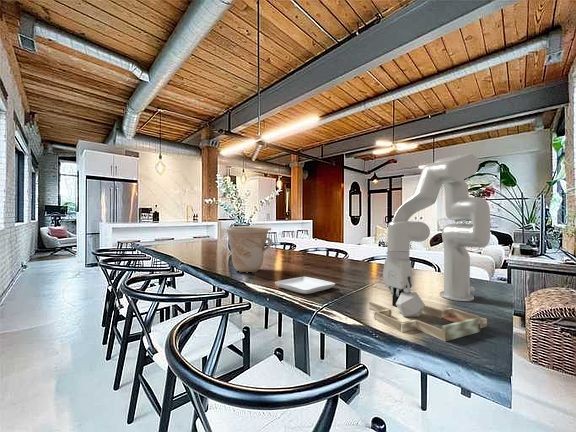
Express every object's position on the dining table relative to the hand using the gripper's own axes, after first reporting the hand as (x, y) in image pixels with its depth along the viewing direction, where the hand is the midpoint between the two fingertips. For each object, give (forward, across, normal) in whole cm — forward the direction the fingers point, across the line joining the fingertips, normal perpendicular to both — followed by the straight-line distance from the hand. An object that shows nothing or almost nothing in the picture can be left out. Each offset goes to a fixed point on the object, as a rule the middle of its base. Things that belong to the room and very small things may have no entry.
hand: (397, 306), depth 103 cm
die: (+2, +5, +1) cm, 5 cm away
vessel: (+2, -93, -28) cm, 97 cm away
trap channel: (+2, +8, +1) cm, 9 cm away
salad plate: (+3, -42, -15) cm, 45 cm away
